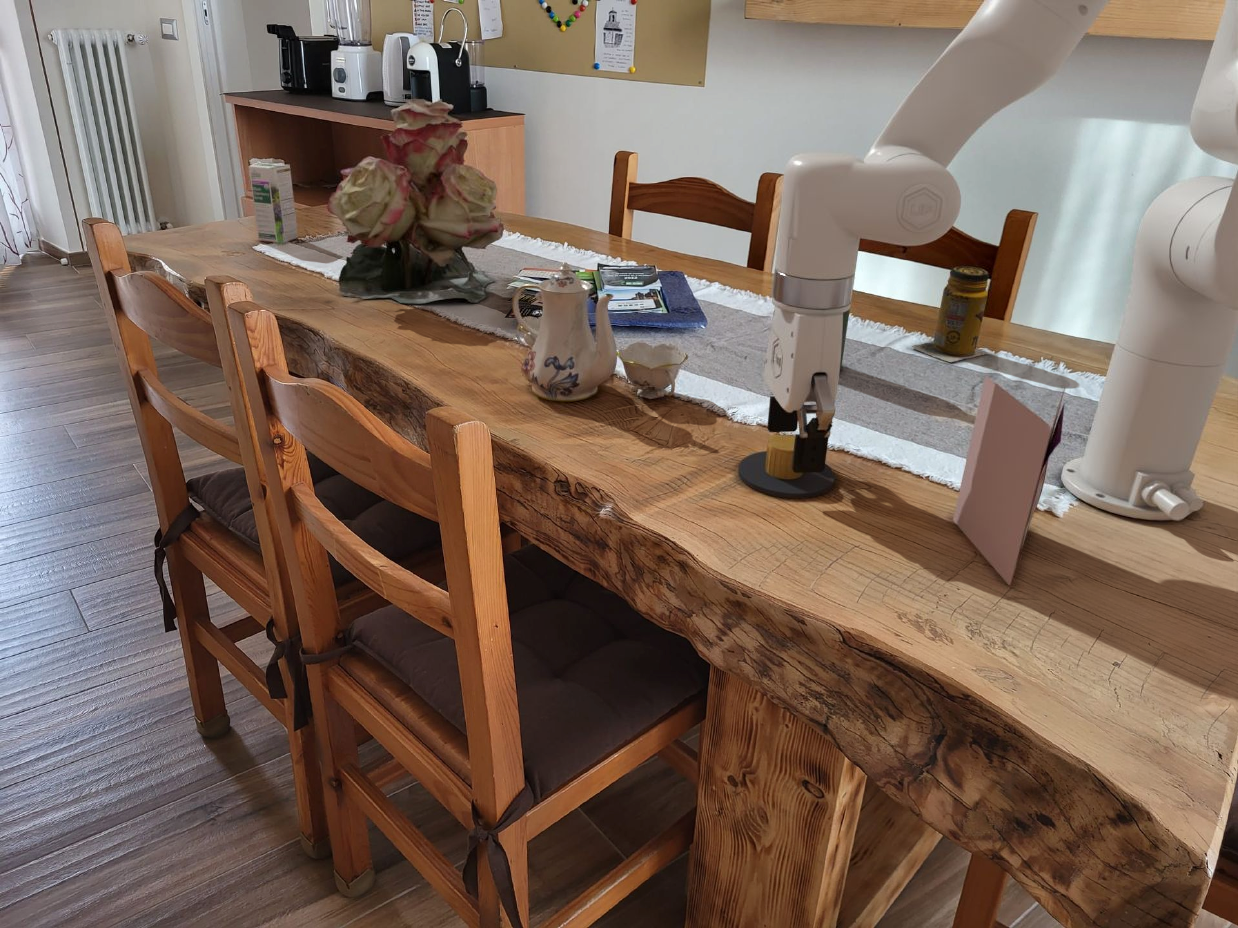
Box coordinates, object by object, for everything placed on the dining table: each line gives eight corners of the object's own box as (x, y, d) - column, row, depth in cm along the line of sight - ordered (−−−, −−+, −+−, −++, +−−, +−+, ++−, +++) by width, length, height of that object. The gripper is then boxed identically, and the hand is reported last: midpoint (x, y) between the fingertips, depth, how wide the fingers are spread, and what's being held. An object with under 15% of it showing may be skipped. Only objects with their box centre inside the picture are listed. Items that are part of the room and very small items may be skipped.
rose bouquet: (321, 303, 146) (298, 102, 132) (393, 260, 172) (380, 88, 158) (475, 317, 142) (467, 111, 129) (525, 271, 168) (523, 96, 154)
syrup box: (257, 241, 182) (246, 165, 175) (275, 235, 187) (265, 161, 180) (282, 244, 180) (272, 167, 174) (299, 238, 186) (290, 163, 179)
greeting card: (1020, 589, 78) (1063, 429, 72) (932, 564, 81) (965, 409, 75) (1037, 531, 87) (1076, 385, 81) (957, 511, 90) (989, 368, 84)
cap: (762, 462, 98) (765, 434, 96) (799, 463, 98) (803, 435, 96) (767, 479, 94) (771, 450, 93) (806, 480, 94) (810, 451, 93)
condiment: (987, 354, 134) (1006, 273, 129) (950, 363, 130) (967, 280, 124) (947, 339, 139) (963, 261, 134) (909, 348, 135) (924, 268, 130)
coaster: (846, 497, 92) (847, 492, 92) (749, 499, 91) (750, 494, 91) (818, 454, 101) (818, 449, 101) (729, 455, 100) (729, 451, 100)
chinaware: (703, 402, 118) (720, 272, 112) (633, 431, 105) (647, 287, 99) (534, 355, 132) (541, 238, 126) (453, 376, 118) (456, 246, 112)
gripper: (753, 267, 95) (740, 418, 103) (799, 316, 80) (780, 490, 87) (823, 266, 96) (805, 416, 103) (882, 315, 80) (856, 487, 88)
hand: (794, 450), depth 95 cm, fingers open, 9 cm apart
